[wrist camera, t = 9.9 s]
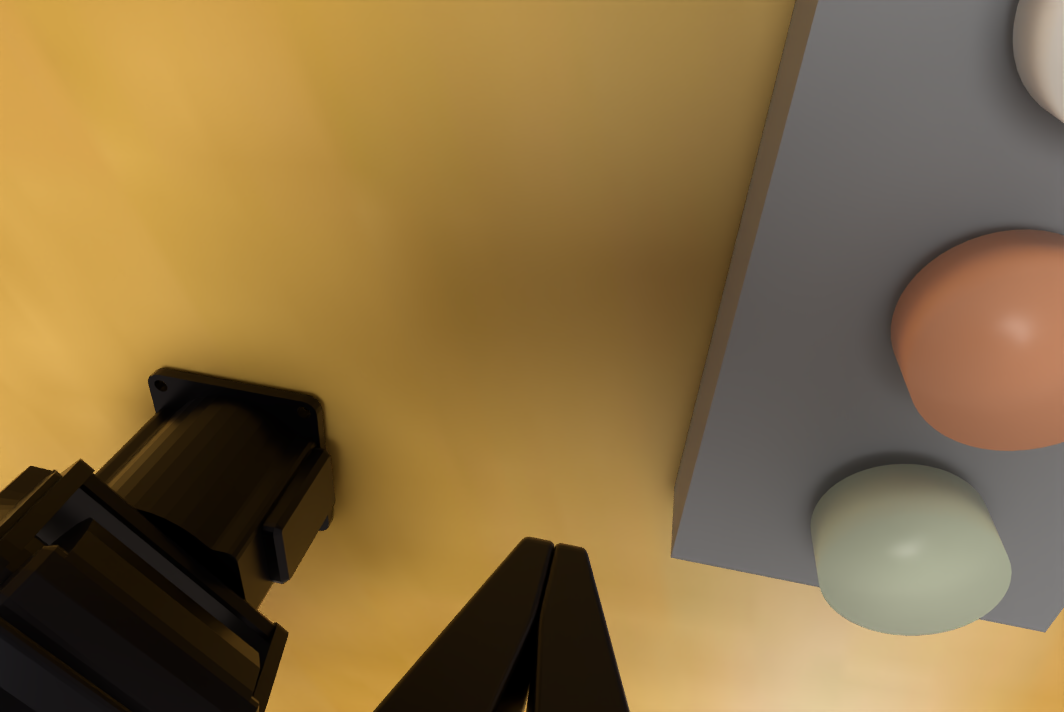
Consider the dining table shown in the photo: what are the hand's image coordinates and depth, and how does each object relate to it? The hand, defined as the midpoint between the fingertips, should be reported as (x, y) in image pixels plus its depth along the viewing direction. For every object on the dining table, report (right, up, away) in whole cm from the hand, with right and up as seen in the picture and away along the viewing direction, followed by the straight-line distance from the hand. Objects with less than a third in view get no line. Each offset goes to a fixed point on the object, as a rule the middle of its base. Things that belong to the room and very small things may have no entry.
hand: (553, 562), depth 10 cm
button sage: (+10, -2, +10) cm, 14 cm away
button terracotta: (+10, +3, +7) cm, 13 cm away
